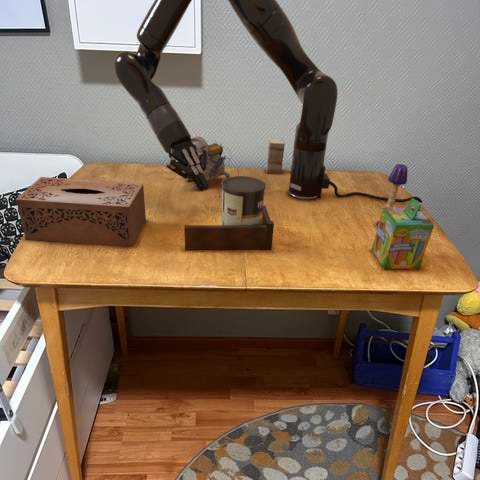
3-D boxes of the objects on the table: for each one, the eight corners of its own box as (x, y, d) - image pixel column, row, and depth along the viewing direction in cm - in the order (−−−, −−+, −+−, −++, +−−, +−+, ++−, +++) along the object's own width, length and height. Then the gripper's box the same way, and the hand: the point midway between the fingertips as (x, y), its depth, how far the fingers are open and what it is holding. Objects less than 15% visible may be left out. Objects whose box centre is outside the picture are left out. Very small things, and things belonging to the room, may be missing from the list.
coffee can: (262, 230, 121) (266, 177, 113) (259, 249, 113) (264, 193, 104) (222, 227, 122) (224, 174, 113) (217, 245, 113) (218, 189, 105)
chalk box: (370, 250, 115) (384, 193, 106) (406, 250, 116) (423, 193, 107) (382, 270, 108) (398, 209, 99) (420, 270, 109) (440, 210, 100)
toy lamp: (394, 225, 128) (411, 164, 118) (393, 232, 124) (410, 170, 114) (377, 221, 129) (391, 161, 119) (375, 228, 125) (390, 166, 115)
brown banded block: (266, 173, 155) (268, 142, 149) (265, 169, 159) (268, 138, 153) (282, 174, 156) (285, 143, 150) (281, 169, 159) (284, 139, 153)
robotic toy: (168, 183, 144) (166, 133, 135) (212, 172, 154) (212, 124, 145) (194, 197, 137) (193, 144, 128) (238, 184, 146) (240, 134, 137)
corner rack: (264, 226, 123) (266, 201, 119) (271, 250, 113) (274, 223, 109) (184, 226, 121) (184, 201, 117) (184, 250, 111) (184, 223, 106)
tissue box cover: (25, 239, 111) (15, 199, 105) (48, 214, 123) (40, 177, 117) (133, 246, 111) (129, 206, 105) (146, 220, 123) (143, 183, 117)
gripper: (155, 124, 110) (194, 189, 111) (194, 115, 118) (230, 175, 119) (142, 142, 115) (179, 203, 117) (180, 132, 124) (214, 189, 125)
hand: (205, 189), depth 118 cm, fingers closed
